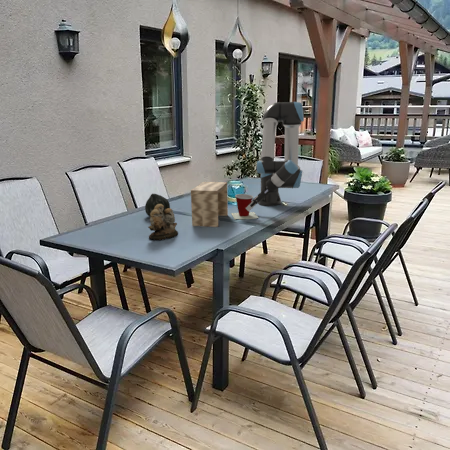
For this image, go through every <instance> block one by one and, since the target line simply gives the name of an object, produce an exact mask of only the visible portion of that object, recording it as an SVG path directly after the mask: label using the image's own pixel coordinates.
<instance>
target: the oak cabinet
mask: <svg viewBox="0 0 450 450" xmlns="http://www.w3.org/2000/svg"><path fill="white" fill-rule="evenodd" d="M190 201H191V224H192V225H191V226H192V227H209V228H210V227H213V228H218V227H219V216H224V217H225V216H226V217H227V216H229V213H228V212H229V211H228V210H229V208H228V207H229V204H228V201H229V200H228V182H226V181H225V182H224V181H202V182H200V184H198V185H197V186H195V187H194V188H192V189H191V190H190Z"/></svg>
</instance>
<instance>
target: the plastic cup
mask: <svg viewBox="0 0 450 450" xmlns="http://www.w3.org/2000/svg"><path fill="white" fill-rule="evenodd" d="M234 197H235V200H236V207H237V213H239V216H249V212H250V211H248V210H247V209H246V207H247V206H248V205H249V204H250V203H251V201H252V200H253V199H254V196H253V195H251V194H247V193H239V194H235V195H234Z"/></svg>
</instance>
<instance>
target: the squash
mask: <svg viewBox="0 0 450 450" xmlns="http://www.w3.org/2000/svg"><path fill="white" fill-rule="evenodd" d="M157 204H162V205H163V206H164V209H163V212H164V211H165V209H167V208H171V205H170V202H169V200H168V199H167V198H166V197H164V196H162V195H161V194H157V193H151V194H150V195H149V198H148V199H147V200H146V202H145V206H144V207H145V208H144V209H145V213H146V215H147V216H148V217H149V218H151V216H150V213H151V211H153V210H154V208H155V206H156V205H157Z"/></svg>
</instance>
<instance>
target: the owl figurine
mask: <svg viewBox="0 0 450 450" xmlns="http://www.w3.org/2000/svg"><path fill="white" fill-rule="evenodd" d="M163 209H164V206H163V205H162V204H157V205H156V206H155V208H154V210H153V211H151V213H150V216H151V217H150V216H149V222H150V225H149V226H147V228H148V229H149V230H150V231H153V232H151V233H150V234H149V235H148V239H150V240H153V241H164V240H170V239H173V238H176V237H177V236H178V235H179V232H178V230H177V229H176V226H177V225H178V223H177V222H176V217H175V213H174V212H173V211H174V210H173V209H172V208H171V207H170V208H167V209H165V211H164V212H163Z"/></svg>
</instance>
